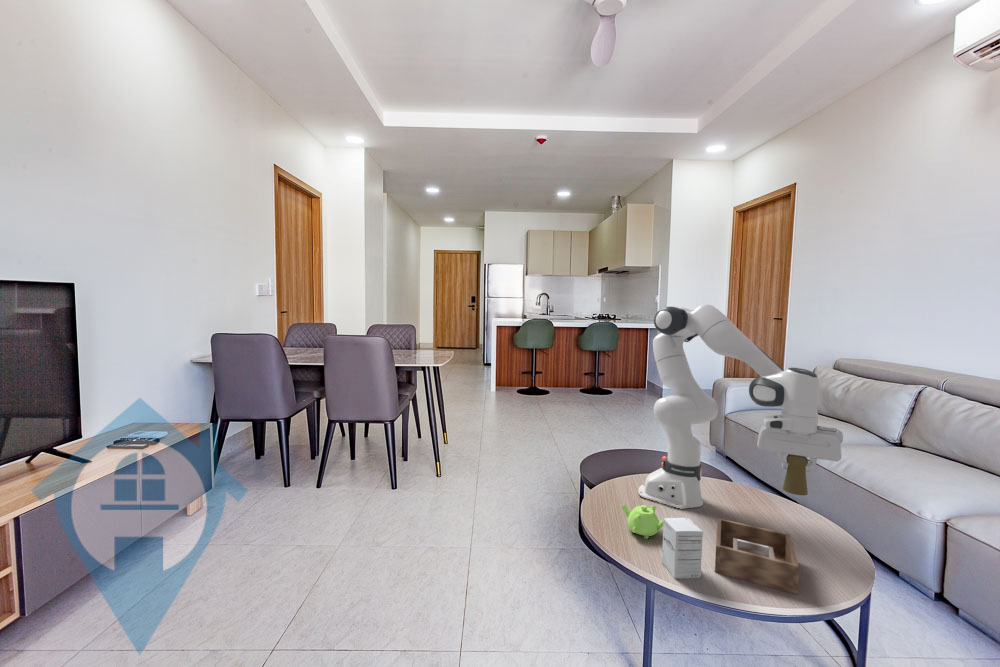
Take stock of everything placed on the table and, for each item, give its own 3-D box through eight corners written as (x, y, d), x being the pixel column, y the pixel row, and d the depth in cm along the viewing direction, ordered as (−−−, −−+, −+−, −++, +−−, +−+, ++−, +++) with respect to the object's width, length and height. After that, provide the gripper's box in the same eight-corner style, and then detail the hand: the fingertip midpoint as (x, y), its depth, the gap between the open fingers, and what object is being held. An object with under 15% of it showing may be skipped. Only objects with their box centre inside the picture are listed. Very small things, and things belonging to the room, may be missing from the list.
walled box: (714, 571, 111) (716, 545, 111) (716, 540, 127) (717, 518, 127) (797, 594, 103) (798, 566, 102) (788, 558, 118) (789, 534, 118)
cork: (808, 490, 125) (810, 454, 125) (807, 497, 120) (809, 459, 120) (783, 485, 129) (785, 449, 128) (782, 491, 124) (784, 454, 124)
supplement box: (660, 562, 115) (662, 517, 114) (686, 562, 115) (688, 516, 115) (673, 579, 108) (675, 531, 107) (701, 578, 108) (703, 530, 108)
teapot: (630, 541, 125) (631, 514, 125) (619, 522, 137) (620, 497, 136) (667, 543, 125) (669, 515, 125) (654, 523, 137) (655, 498, 136)
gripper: (841, 426, 122) (837, 473, 122) (758, 416, 131) (755, 460, 132) (846, 431, 116) (843, 480, 117) (759, 420, 126) (757, 466, 126)
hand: (796, 469), depth 124 cm, fingers closed on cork, 4 cm apart
